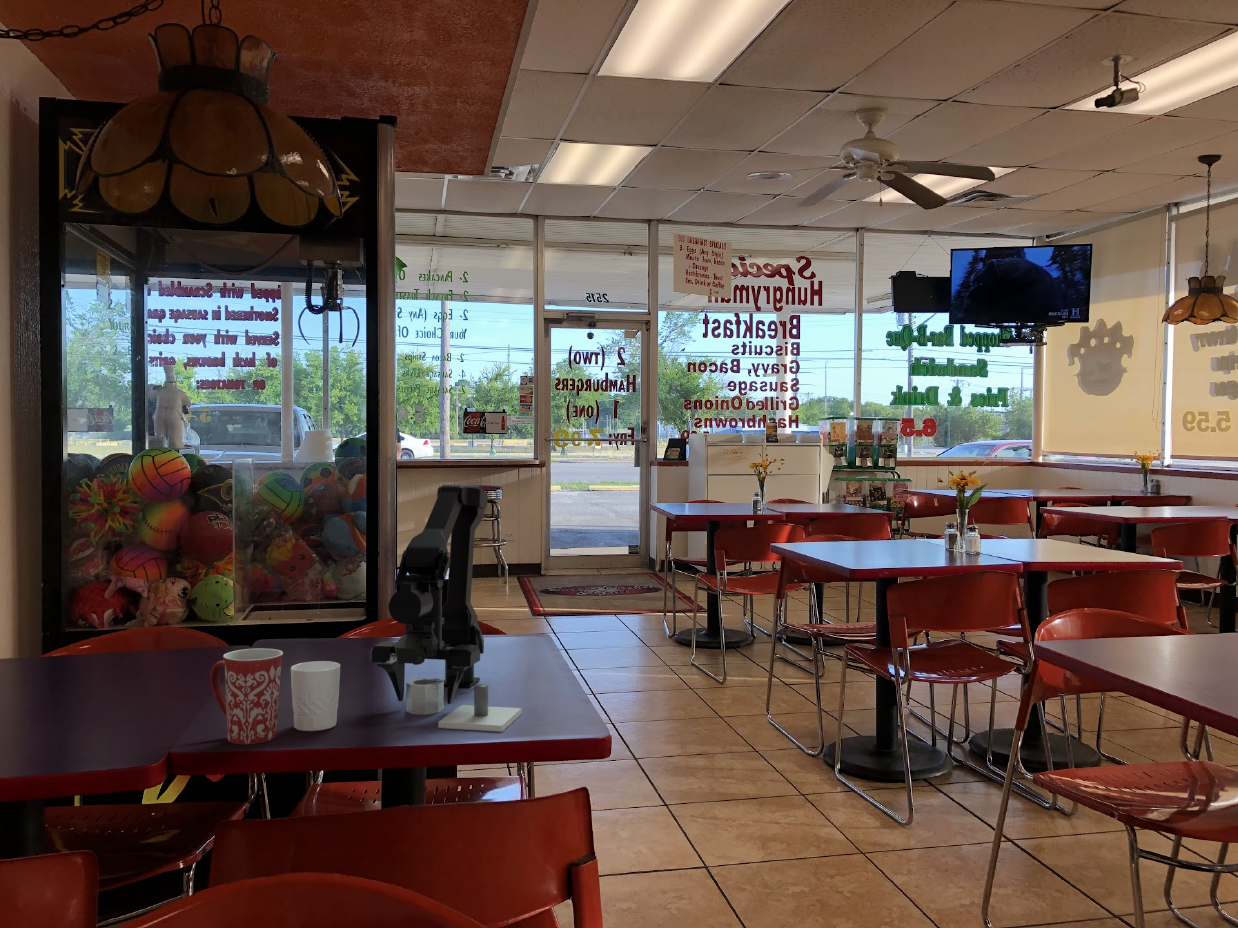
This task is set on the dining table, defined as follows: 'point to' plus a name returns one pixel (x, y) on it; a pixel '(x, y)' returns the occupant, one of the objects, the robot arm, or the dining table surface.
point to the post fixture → (480, 714)
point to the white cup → (315, 694)
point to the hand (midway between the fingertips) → (425, 702)
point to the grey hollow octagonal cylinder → (424, 696)
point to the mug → (249, 693)
